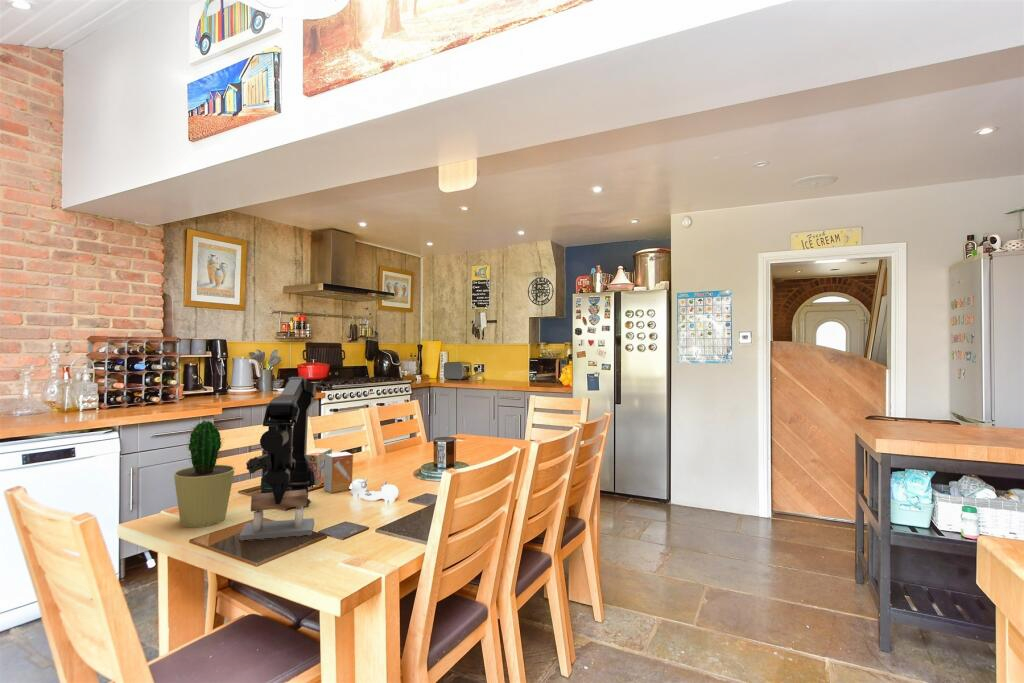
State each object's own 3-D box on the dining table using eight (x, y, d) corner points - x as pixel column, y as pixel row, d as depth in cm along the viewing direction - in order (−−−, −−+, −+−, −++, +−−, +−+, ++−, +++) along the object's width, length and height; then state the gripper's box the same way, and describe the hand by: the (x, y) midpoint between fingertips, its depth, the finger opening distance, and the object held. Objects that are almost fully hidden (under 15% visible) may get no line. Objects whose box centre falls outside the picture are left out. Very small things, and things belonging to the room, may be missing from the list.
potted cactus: (241, 520, 148) (244, 419, 149) (181, 534, 137) (184, 424, 138) (223, 508, 159) (226, 414, 159) (165, 520, 147) (169, 418, 148)
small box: (331, 493, 178) (332, 456, 178) (323, 489, 183) (324, 454, 183) (352, 489, 184) (353, 454, 184) (344, 486, 188) (345, 451, 189)
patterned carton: (327, 473, 207) (327, 443, 207) (341, 474, 207) (342, 444, 207) (300, 487, 186) (301, 453, 186) (316, 488, 185) (317, 454, 185)
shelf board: (305, 499, 146) (305, 489, 146) (306, 505, 141) (307, 494, 141) (251, 505, 140) (251, 494, 140) (250, 511, 135) (251, 500, 135)
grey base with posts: (246, 528, 142) (246, 505, 143) (314, 523, 148) (314, 500, 148) (238, 541, 133) (239, 516, 133) (311, 535, 139) (312, 511, 139)
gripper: (255, 439, 147) (253, 493, 147) (242, 452, 130) (240, 513, 129) (296, 438, 151) (294, 490, 151) (289, 451, 133) (287, 510, 133)
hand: (279, 500), depth 141 cm, fingers closed on shelf board, 6 cm apart
